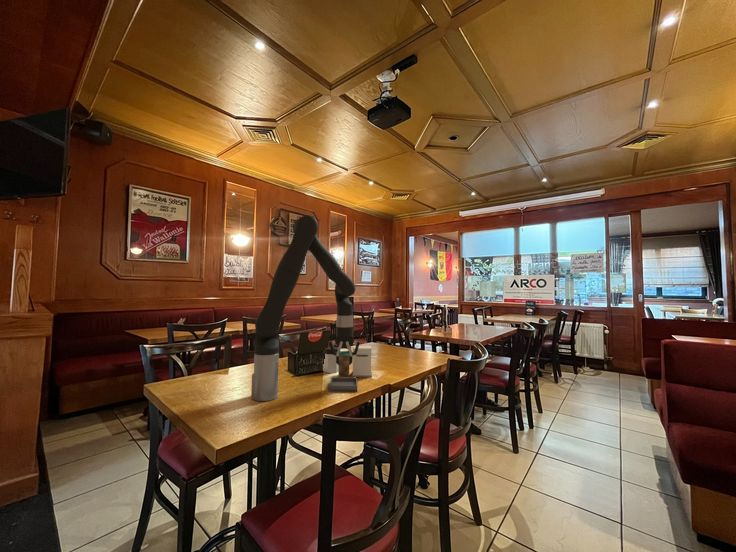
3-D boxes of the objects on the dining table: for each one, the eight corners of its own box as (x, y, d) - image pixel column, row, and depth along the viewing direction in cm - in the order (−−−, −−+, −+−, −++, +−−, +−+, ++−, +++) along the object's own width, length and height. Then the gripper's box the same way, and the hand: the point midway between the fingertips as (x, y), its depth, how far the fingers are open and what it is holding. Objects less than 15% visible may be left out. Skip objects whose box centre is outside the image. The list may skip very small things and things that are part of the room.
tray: (328, 391, 126) (328, 385, 126) (331, 383, 138) (331, 377, 138) (357, 391, 126) (357, 385, 126) (357, 383, 138) (357, 377, 138)
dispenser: (351, 377, 147) (352, 348, 148) (352, 373, 155) (352, 345, 156) (372, 377, 147) (372, 348, 148) (371, 373, 155) (371, 345, 156)
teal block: (338, 367, 130) (338, 353, 130) (339, 364, 135) (339, 350, 135) (349, 367, 130) (349, 353, 130) (349, 364, 135) (349, 350, 135)
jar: (342, 371, 158) (343, 348, 158) (329, 374, 153) (329, 350, 153) (333, 368, 165) (333, 345, 165) (320, 370, 160) (320, 347, 160)
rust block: (340, 377, 147) (340, 365, 147) (338, 375, 151) (338, 362, 152) (349, 376, 148) (349, 364, 149) (347, 374, 153) (347, 362, 153)
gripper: (327, 326, 129) (327, 366, 128) (360, 326, 130) (360, 366, 129) (329, 324, 137) (329, 362, 136) (360, 324, 137) (360, 362, 136)
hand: (344, 364), depth 132 cm, fingers closed on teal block, 4 cm apart
